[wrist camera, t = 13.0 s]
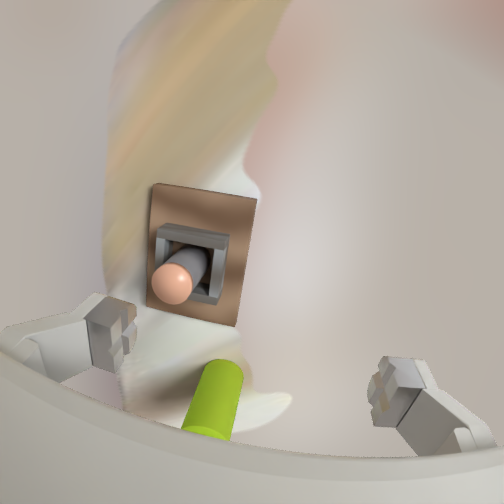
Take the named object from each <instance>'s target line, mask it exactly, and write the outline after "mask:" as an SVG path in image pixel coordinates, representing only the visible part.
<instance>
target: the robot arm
mask: <svg viewBox="0 0 504 504" xmlns="http://www.w3.org/2000/svg"><path fill="white" fill-rule="evenodd" d="M136 316H137V313H136V306H135V305H134V304H132V303H129V302H126V301H122V300H119V299H116V298H113V297H110V296H107V295H104V294H100V293H92V294H91V295H90V296H89V297H88V298H87V299H85V300H84V301H83V302H82V303H81V304H80V305H79V306H77V308H75V309H74V310H73V311H72V312H71V313H70V314H68V313H62V314H58V315H54V316H49V317H45V318H41V319H37V320H33V321H29V322H25V323H20V324H17V325H12V326H8V327H6V328H5V329H4V330H3V331H1V332H0V504H504V446H500V447H498V446H497V444H496V442H495V440H494V438H493V436H492V434H491V431H490V429H489V428H488V425H487V424H486V423H484V422H483V421H482V420H481V419H479V418H478V417H477V416H476V415H474V414H473V413H472V412H470V411H469V410H468V409H467V408H465V407H464V406H463V405H461V404H460V403H459V402H457V401H456V400H455V399H454V398H452V397H451V396H450V395H449V394H447V393H446V392H445V391H443V390H439V389H438V386H437V384H436V382H435V380H434V378H433V376H432V374H431V372H430V370H429V368H428V366H427V364H426V362H425V361H424V360H423V359H412V358H410V359H409V358H397V357H389V356H383V358H382V359H381V360H380V362H379V364H378V368H379V372H377V373H376V374H374V375H373V376H372V378H371V380H370V382H369V386H368V390H367V391H368V392H367V393H368V394H367V397H368V402H369V403H370V404H371V405H372V406H373V409H372V410H371V416H372V420H373V425H374V426H377V427H392V428H396V430H397V431H398V432H399V433H400V434H401V436H402V437H403V438H404V439H405V440H406V442H407V443H408V444H409V445H410V447H411V448H412V449H413V450H414V451H415V453H416V454H417V455H418V456H416V457H380V458H379V457H377V458H376V457H347V456H331V455H318V454H309V453H299V452H292V451H284V450H276V449H270V448H264V447H258V446H252V445H247V444H242V443H237V442H232V441H227V440H222V439H218V438H214V437H209V436H205V435H201V434H197V433H194V432H190V431H186V430H182V429H179V428H175V427H172V426H169V425H165V424H162V423H159V422H156V421H152V420H149V419H146V418H143V417H140V416H138V415H135V414H132V413H129V412H126V411H124V410H121V409H118V408H116V407H113V406H110V405H108V404H105V403H103V402H100V401H98V400H95V399H92V398H91V397H88V396H86V395H84V394H81V393H79V392H77V391H75V390H72V389H70V388H68V387H66V386H64V385H62V384H60V382H62V381H64V380H67V379H68V378H71V377H72V376H75V375H77V374H79V373H81V372H83V371H85V370H87V369H89V368H91V367H92V366H95V367H98V368H100V369H103V370H106V371H109V372H112V373H116V372H117V370H118V369H119V367H120V366H121V364H122V363H123V362H124V356H123V355H126V354H128V353H130V352H131V350H132V349H133V347H134V344H135V341H136V336H137V327H136V325H135V323H134V322H133V320H134V319H135V317H136Z"/></svg>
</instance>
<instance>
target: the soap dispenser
mask: <svg viewBox="0 0 504 504" xmlns="http://www.w3.org/2000/svg"><path fill="white" fill-rule="evenodd" d="M242 383H243V372H242V370H241V369H240V368H239V367H238V366H237V365H236V364H235V363H233V362H231V361H228V360H223V359H218V360H213V361H211V362H209V363H208V364H207V365H206V366H205V368H204V371H203V373H202V376H201V379H200V381H199V384H198V386H197V389H196V391H195V394H194V396H193V399H192V402H191V404H190V407H189V409H188V412H187V414H186V417H185V420H184V422H183V425H182V427H181V429H182V430H186V431H190V432H194V433H197V434H201V435H205V436H209V437H214V438H218V439H222V440H227V441H230V437H231V432H232V428H233V423H234V419H235V414H236V410H237V405H238V401H239V396H240V392H241V387H242Z"/></svg>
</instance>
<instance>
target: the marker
mask: <svg viewBox="0 0 504 504" xmlns="http://www.w3.org/2000/svg"><path fill="white" fill-rule="evenodd" d="M210 263H211V258H210V254H209V252H208V251H207V249H206V248H205V247H203V246H197V245H192V244H186V245H184V246H183V247H182V248H181V249H180V250H178V251H177V252H176V253H175V254H174V255H173V256H172V257H171V258H169V259H168V260H167V261H166V262H165V263H164V264H163V265H162V266H160V267H159V268H158V269H157V270H156V271H155V272H154V274H153V276H152V288H153V291H154V293H155V294H156V296H157V297H158V298H159V299H160V300H162V301H163V302H165V303H168V304H173V305H175V304H180V303H182V302H184V301H185V300H186V299H187V298H188V297H189V295H190V294H191V292H192V291H193V290H194V288H195V287H196V285H197V284H198V283H199V281H200V280H201V278H202V277H203V276H204V274H205V273H206V271H207V270H208V269H209V267H210Z"/></svg>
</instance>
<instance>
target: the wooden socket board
mask: <svg viewBox="0 0 504 504" xmlns="http://www.w3.org/2000/svg"><path fill="white" fill-rule="evenodd" d="M256 203H257V199H254V198H249V197H243V196H238V195H232V194H226V193H220V192H214V191H208V190H201V189H195V188H189V187H182V186H175V185H169V184H162V183H157V184H153V192H152V203H151V215H150V228H149V244H148V264H147V295H146V306H147V307H151V308H155V309H159V310H163V311H167V312H171V313H175V314H179V315H183V316H187V317H191V318H196V319H200V320H204V321H209V322H213V323H218V324H222V325H227V326H232V327H235V325H236V322H237V316H238V309H239V304H240V298H241V292H242V285H243V280H244V274H245V268H246V262H247V256H248V250H249V244H250V239H251V232H252V226H253V221H254V215H255V209H256ZM186 244H192V245H197V246H203V247H205V248H206V249H207V251H208V252H209V254H210V258H211V263H210V267H209V269H208V270H207V271H206V273H205V274H204V276H203V277H202V278H201V280H200V281H199V283H198V284H197V285H196V287H195V288H194V290H193V291H192V292H191V294H190V295H189V297H188V298H187V299H186V300H185V301H184V302H182V303H180V304H175V305H173V304H168V303H165V302H163V301H162V300H160V299H159V298H158V297H157V296H156V294H155V293H154V291H153V288H152V276H153V274H154V272H155V271H156V270H157V269H158V268H159V267H160V266H162V265H163V264H164V263H165V262H166V261H167V260H168V259H169V258H171V257H172V256H173V255H174V254H175V253H176V252H177V251H178V250H180V249H181V248H182V247H183V246H184V245H186Z"/></svg>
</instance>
